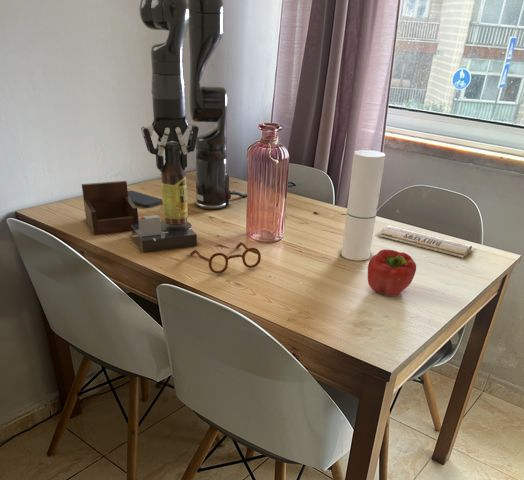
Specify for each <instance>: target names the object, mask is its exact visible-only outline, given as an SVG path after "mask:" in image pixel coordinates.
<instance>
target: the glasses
mask: <svg viewBox="0 0 524 480" xmlns="http://www.w3.org/2000/svg"><path fill="white" fill-rule="evenodd" d="M241 246H242V247H243V248H244V249H245V250H244V251H243V252H242V254H240V253H238V254H232V255H229V256H227V255H226V254H225V253H223V252H215V253H213V254H211V256H210V257H209V258H208V257H206V256H204V255H202V254H201V253H200V252H199V251H198V250H197V249H194V250H193V251H191V252H190V253H189V256H190V257H192V256H193V255H195V254H196V255H197V256H198V258H199V259H201V260H204V261H206V262H207V263H208V267H209V270H210V271H211V272H212V273H214V274H217V275H218V274H219V275H220V274H223V273H224V272H226V270H227V269H228V266H229V260H231V259H236V258H241V259H242V264H243V266H244V267H245V268H248V269H254V268H256V267H257V266H258V265H259V264H260V262H261V259H262V255H261V251H260V250H259V249H258V248H256V247H248V246H247V245H246V244H245V243H244V242H242V241H240V242H239V243H238V244H237V245H236V246H235V250H238V249H239V248H240V247H241ZM248 252H250V253H253V254H255V255H257V261H256V262H255V263H254V264H252V265H250V264H248V263H247V262H246V255H247V254H248ZM218 256H221V257H223V258H224V261H225V263H224V267H223V268H222V269H221V270H215V269H214V268H213V265H212V262H213V260H214V259H215V258H216V257H218Z"/></svg>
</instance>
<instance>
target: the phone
mask: <svg viewBox="0 0 524 480" xmlns="http://www.w3.org/2000/svg"><path fill="white" fill-rule="evenodd" d="M127 191H128V197H129V198H130V199H131V201H132V202H133V203H134V204H135V205H136V206H140V207H143V208H149V207H152V206H156V205H159V204H163V200H162V198H159V197H155V196H151V195H149V194H145V193H141V192H138V191H134V190H127Z"/></svg>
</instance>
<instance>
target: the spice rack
mask: <svg viewBox="0 0 524 480" xmlns="http://www.w3.org/2000/svg"><path fill="white" fill-rule="evenodd" d="M81 190H82V191H81V192H82V198H83V199H82V200H83V207H84V214H85V220H86V223H87V224H88V226H89V228H90V229H91V232H92V233H93V235H101V234H110V233H118V232H120V233H121V232H129V231H130V232H131V225H135V224H139V220H138V217H139V211H138V207H137V205H136V204H134V203H133V202H132V201H131V199H130V198H129V197H128V191H129V190H128V181H127V180H118V181H103V182H93V183H81Z"/></svg>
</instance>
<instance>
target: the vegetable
mask: <svg viewBox="0 0 524 480" xmlns="http://www.w3.org/2000/svg"><path fill="white" fill-rule="evenodd" d="M416 272H417V264H416V262H415V261H414V259H413V258H412V257H411V255H410V254H407V253H406V252H399V251H397V250H394V249H389V248H388V249H387V248H385V249H381V250H378V252H377V253H376V254H374V255H372V257H370V258H369V261H368V265H367V283H368V286H369V288H370V289H371V290H372V291H373V292H374V293H377V294H383V293H384V294H385V295H386V296H389V297H395V296H399V295H400V294H401V293H403V291H404V290H405V289H406V288H408V287H409V286H410V285H411V283H412V282H413V280H414V277H415V275H416Z"/></svg>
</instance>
